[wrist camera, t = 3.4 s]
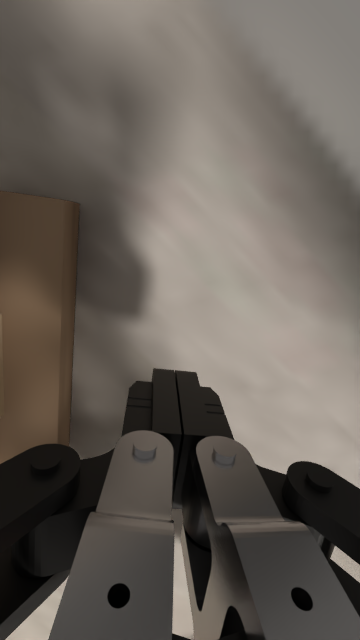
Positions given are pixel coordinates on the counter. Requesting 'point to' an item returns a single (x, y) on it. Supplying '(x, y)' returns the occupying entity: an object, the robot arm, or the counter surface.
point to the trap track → (37, 319)
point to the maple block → (1, 372)
